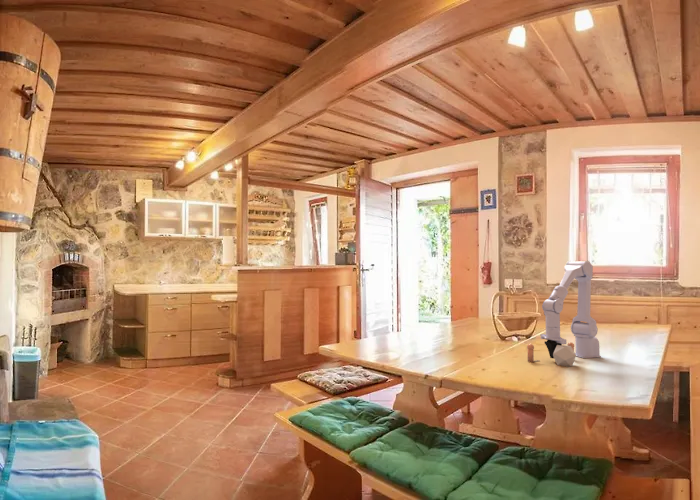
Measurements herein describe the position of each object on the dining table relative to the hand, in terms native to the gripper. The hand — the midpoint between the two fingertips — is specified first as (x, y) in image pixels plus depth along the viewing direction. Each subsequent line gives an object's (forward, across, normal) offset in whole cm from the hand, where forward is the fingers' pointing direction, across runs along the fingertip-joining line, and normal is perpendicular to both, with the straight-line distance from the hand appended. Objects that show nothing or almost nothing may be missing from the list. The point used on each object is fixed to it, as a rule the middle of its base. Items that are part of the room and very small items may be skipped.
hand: (553, 358), depth 185 cm
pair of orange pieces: (+1, -2, 0) cm, 2 cm away
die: (+2, +7, 0) cm, 7 cm away
